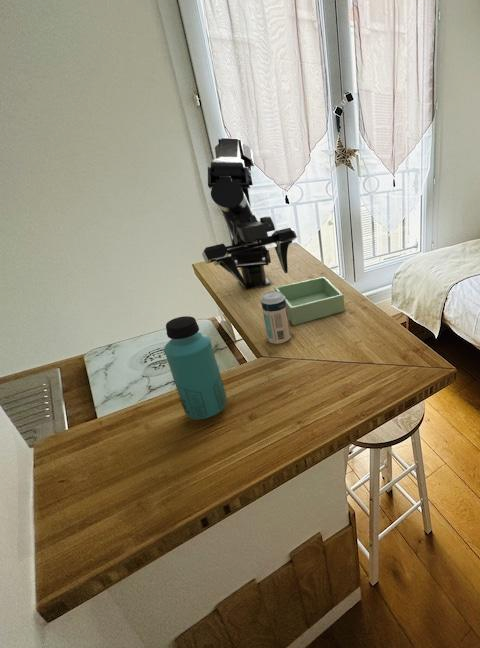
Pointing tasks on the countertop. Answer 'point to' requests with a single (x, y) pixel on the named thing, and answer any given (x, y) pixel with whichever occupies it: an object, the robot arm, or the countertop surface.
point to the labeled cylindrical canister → (276, 317)
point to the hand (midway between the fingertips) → (266, 279)
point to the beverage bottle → (194, 369)
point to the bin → (311, 299)
